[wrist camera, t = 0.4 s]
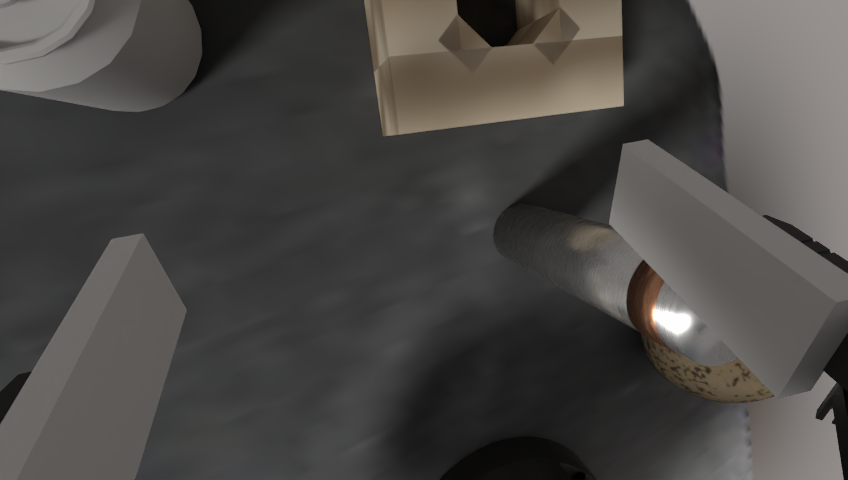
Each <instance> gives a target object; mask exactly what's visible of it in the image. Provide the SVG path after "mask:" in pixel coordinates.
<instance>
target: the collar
mask: <svg viewBox="0 0 848 480" xmlns="http://www.w3.org/2000/svg"><path fill="white" fill-rule="evenodd" d="M364 4H365V11H366V18H367V25H368V33H369V40H370V47H371V54H372V61H373V68H374V75H375V82H376V89H377V97H378V104H379V111H380V118H381V125H382V132H383V136H390V135H399V134H407V133H415V132H423V131H430V130H438V129H446V128H454V127H462V126H470V125H477V124H485V123H493V122H501V121H509V120H517V119H525V118H532V117H540V116H548V115H556V114H564V113H572V112H579V111H587V110H595V109H603V108H611V107H619V106H624V91H623V45H622V0H515V5H516V20H517V31H516V33H515V34H514V36H513V37H512V38H511V40H510V41H509V42H508V44H507V45H506V46H502V47H491V46H490V45H489V44H488V43H487V42H486V41H484V40H483V39H482V38H481V37H480V36H479V35H478V34H477V33H476V32H475V31H474V30H473V29H472V28H471V27H470V26H469V25H468V24H467V23H466V22H465V21H464V20H463V19H462V18H461V17H460V16H458V12H457V2H456V0H364Z"/></svg>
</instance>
